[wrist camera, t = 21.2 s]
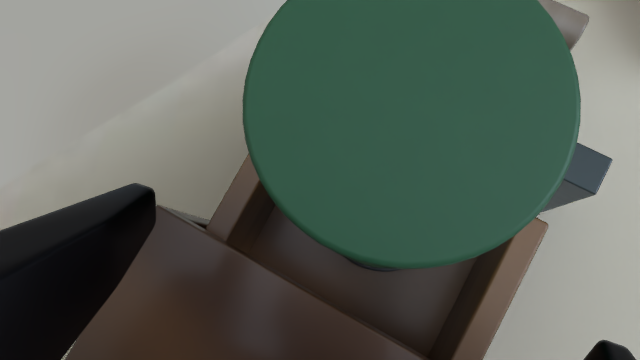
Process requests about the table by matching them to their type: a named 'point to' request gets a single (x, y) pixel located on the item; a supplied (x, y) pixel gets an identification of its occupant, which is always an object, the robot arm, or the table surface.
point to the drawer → (408, 284)
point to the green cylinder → (411, 124)
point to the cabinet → (221, 308)
